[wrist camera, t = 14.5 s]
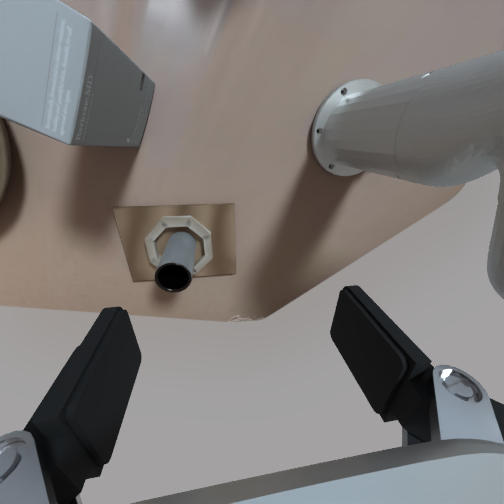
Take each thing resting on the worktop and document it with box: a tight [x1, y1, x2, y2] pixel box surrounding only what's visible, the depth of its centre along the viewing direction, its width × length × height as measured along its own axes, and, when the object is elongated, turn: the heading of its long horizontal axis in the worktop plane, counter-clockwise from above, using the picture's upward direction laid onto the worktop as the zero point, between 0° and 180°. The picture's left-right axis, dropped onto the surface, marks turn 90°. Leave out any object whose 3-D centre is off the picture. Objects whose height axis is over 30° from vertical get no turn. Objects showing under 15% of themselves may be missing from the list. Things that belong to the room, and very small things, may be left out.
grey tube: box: [154, 232, 196, 292], centre depth 33 cm, size 4×4×10 cm
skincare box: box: [0, 0, 155, 147], centre depth 21 cm, size 8×7×16 cm
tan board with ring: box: [113, 204, 236, 281], centre depth 37 cm, size 18×13×2 cm
